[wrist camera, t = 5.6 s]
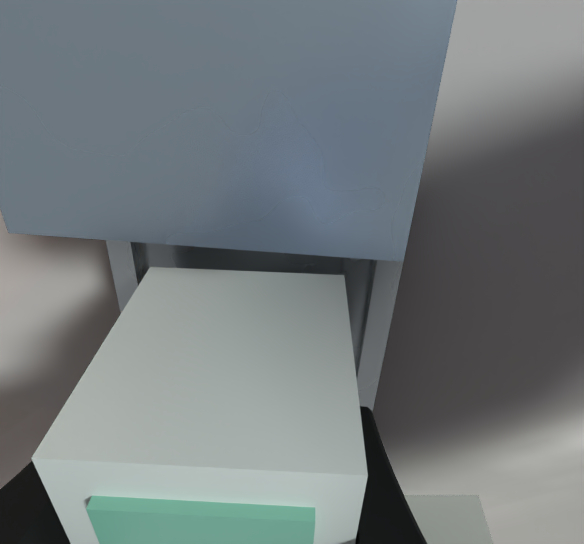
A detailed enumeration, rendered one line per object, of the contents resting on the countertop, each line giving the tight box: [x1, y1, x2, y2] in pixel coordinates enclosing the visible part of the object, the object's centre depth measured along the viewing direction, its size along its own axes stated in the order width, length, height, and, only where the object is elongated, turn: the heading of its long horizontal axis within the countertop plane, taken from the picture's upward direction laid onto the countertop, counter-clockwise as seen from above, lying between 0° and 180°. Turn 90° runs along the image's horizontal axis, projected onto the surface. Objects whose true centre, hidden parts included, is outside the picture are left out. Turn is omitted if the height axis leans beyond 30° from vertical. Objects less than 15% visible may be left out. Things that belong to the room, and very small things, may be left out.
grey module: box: [31, 267, 368, 544], centre depth 9 cm, size 5×6×5 cm
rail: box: [0, 0, 457, 412], centre depth 11 cm, size 7×20×6 cm, turn 177°
